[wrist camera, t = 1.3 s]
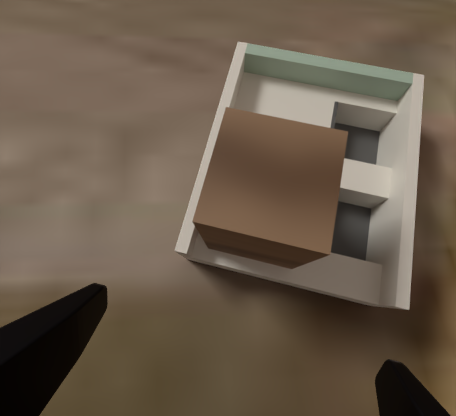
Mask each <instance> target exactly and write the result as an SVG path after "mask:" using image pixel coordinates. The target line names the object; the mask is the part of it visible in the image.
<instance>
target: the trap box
mask: <svg viewBox="0 0 456 416" xmlns="http://www.w3.org/2000/svg"><path fill="white" fill-rule="evenodd" d="M423 85H424V75H420V74H415V73H409V72H404V71H398V70H393V69H387V68H382V67H376V66H371V65H365V64H359V63H354V62H348V61H343V60H337V59H332V58H326V57H321V56H315V55H310V54H304V53H299V52H293V51H287V50H282V49H276V48H271V47H265V46H260V45H254V44H249V43H243V42H238V43H237V47H236V50H235V53H234V57H233V60H232V63H231V67H230V70H229V73H228V76H227V80H226V83H225V86H224V90H223V93H222V96H221V100H220V103H219V106H218V109H217V113H216V116H215V119H214V123H213V126H212V129H211V133H210V136H209V139H208V142H207V146H206V149H205V152H204V156H203V159H202V162H201V166H200V169H199V172H198V175H197V179H196V182H195V185H194V189H193V192H192V195H191V199H190V202H189V205H188V208H187V212H186V215H185V218H184V222H183V225H182V228H181V231H180V235H179V238H178V241H177V245H176V248H175V251H176V252H177V253H179V254H180V255H181V256H183V257H184V258H186V259H188V260H192V261H195V262H199V263H203V264H207V265H211V266H215V267H219V268H223V269H227V270H231V271H235V272H239V273H243V274H247V275H251V276H254V277H258V278H262V279H266V280H270V281H274V282H278V283H282V284H286V285H290V286H294V287H298V288H302V289H306V290H309V291H313V292H317V293H321V294H325V295H329V296H333V297H337V298H341V299H345V300H349V301H353V302H357V303H361V304H365V305H368V306H376V307H385V308H395V309H404V310H409V307H410V291H411V275H412V259H413V243H414V227H415V212H416V196H417V180H418V164H419V148H420V133H421V117H422V101H423ZM226 107H229V108H234V109H239V110H244V111H249V112H253V113H258V114H263V115H268V116H273V117H278V118H283V119H288V120H293V121H298V122H303V123H308V124H313V125H318V126H323V127H328V128H333V129H338V130H343V131H348V136H347V143H346V150H345V157H344V164H343V171H342V177H341V184H340V191H339V198H338V205H337V212H336V219H335V225H334V232H333V239H332V246H331V253H330V255H328V256H326V257H323V258H320V259H318V260H315V261H312V262H310V263H307V264H304V265H302V266H299V267H296V268H294V269H289V268H285V267H281V266H277V265H273V264H269V263H265V262H261V261H257V260H253V259H249V258H245V257H241V256H236V255H232V254H228V253H224V252H220V251H216V250H212V249H208V247H207V246H206V244H205V242H204V240H203V239H202V237H201V235H200V234H199V232H198V230H197V229H196V227H195V225H194V224H193V222H192V221H193V217H194V214H195V210H196V207H197V204H198V200H199V197H200V193H201V190H202V187H203V183H204V180H205V176H206V173H207V170H208V166H209V163H210V159H211V156H212V153H213V149H214V146H215V142H216V139H217V136H218V132H219V129H220V125H221V122H222V119H223V115H224V112H225V108H226Z"/></svg>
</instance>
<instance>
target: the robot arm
mask: <svg viewBox="0 0 456 416" xmlns="http://www.w3.org/2000/svg"><path fill="white" fill-rule="evenodd" d="M106 309H107V287H106V286H105V285H101V284H97V283H93V284H90V285H88V286H86V287H84V288H82V289H80V290H78V291H76V292H74V293H72V294H70V295H67V296H65V297H63V298H61V299H59V300H57V301H55V302H53V303H51V304H49V305H47V306H45V307H42V308H40V309H38V310H36V311H34V312H32V313H30V314H28V315H26V316H24V317H22V318H20V319H17V320H15V321H13V322H11V323H9V324H7V325H5V326H3V327H1V328H0V416H39V415H40V414H41V412H42V411H43V409H44V408H45V406H46V405H47V404H48V402H49V401H50V399H51V398H52V396H53V395H54V393H55V392H56V391H57V389H58V388H59V386H60V385H61V383H62V382H63V380H64V379H65V378H66V376H67V375H68V373H69V372H70V370H71V369H72V367H73V366H74V365H75V363H76V362H77V360H78V359H79V357H80V356H81V354H82V352H83V351H84V349H85V347H86V345H87V343H88V342H89V340H90V338H91V336H92V335H93V333H94V331H95V329H96V327H97V326H98V324H99V322H100V320H101V318H102V317H103V315H104V313H105V311H106ZM375 386H376V393H377V400H378V407H379V415H380V416H451V415H450V414H449V413H448V412H447V411H446V410H445V409H444V408H443V407H442V406H441V404H440V403H439V402H438V401H437V400H436V399H435V398H434V397H433V396H432V395H431V393H430V392H429V391H428V390H427V389H426V388H425V387H424V386H423V385H422V384H421V382H420V381H419V380H418V379H417V378H416V377H415V376H414V375H413V374H412V373H411V371H410V370H409V369H408V368H407V367H406V366H405V365H404V364H403V363H401V362H398V361H394V360H390V359H388V360H386V361H385V362H384V364H383V365H382V367H381V369H380V370H379V372H378V374H377V375H376V379H375Z"/></svg>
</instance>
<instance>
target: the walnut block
mask: <svg viewBox="0 0 456 416" xmlns="http://www.w3.org/2000/svg"><path fill="white" fill-rule="evenodd" d="M347 136H348V131H343V130H338V129H333V128H328V127H323V126H318V125H313V124H308V123H303V122H298V121H293V120H288V119H283V118H278V117H273V116H268V115H263V114H258V113H253V112H249V111H244V110H239V109H234V108H229V107H226V108H225V112H224V115H223V119H222V122H221V125H220V129H219V132H218V136H217V139H216V142H215V146H214V149H213V153H212V156H211V159H210V163H209V166H208V170H207V173H206V176H205V180H204V183H203V187H202V190H201V193H200V197H199V200H198V204H197V207H196V210H195V214H194V217H193V221H192V222H193V224H194V225H195V227H196V229H197V230H198V232H199V234H200V235H201V237H202V239H203V240H204V242H205V244H206V246H207V247H208V249H212V250H216V251H220V252H224V253H228V254H232V255H236V256H241V257H245V258H249V259H253V260H257V261H261V262H265V263H269V264H273V265H277V266H281V267H285V268H289V269H294V268H296V267H299V266H302V265H304V264H307V263H310V262H312V261H315V260H318V259H320V258H323V257H326V256H328V255H330V253H331V246H332V239H333V232H334V225H335V219H336V212H337V205H338V198H339V191H340V184H341V177H342V171H343V164H344V157H345V150H346V143H347Z"/></svg>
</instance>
